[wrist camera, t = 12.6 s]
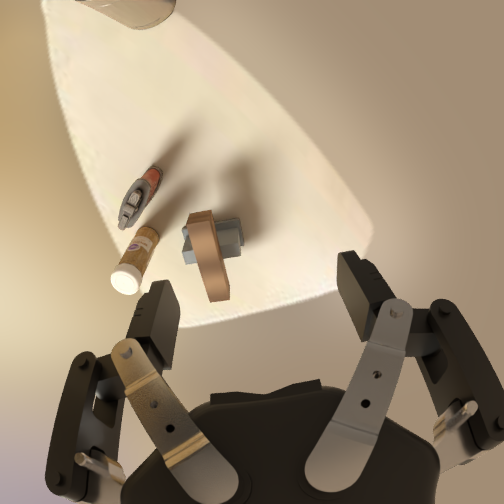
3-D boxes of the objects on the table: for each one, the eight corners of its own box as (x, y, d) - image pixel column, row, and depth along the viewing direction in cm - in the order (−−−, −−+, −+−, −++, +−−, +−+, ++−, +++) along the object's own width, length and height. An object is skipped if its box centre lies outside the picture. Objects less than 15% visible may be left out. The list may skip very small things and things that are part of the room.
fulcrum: (182, 228, 46) (176, 245, 41) (239, 217, 46) (240, 234, 41) (189, 252, 49) (185, 271, 44) (244, 243, 49) (245, 262, 43)
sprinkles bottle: (152, 222, 45) (128, 267, 34) (163, 243, 48) (144, 291, 36) (131, 231, 46) (104, 275, 34) (143, 251, 48) (120, 298, 37)
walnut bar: (189, 213, 38) (185, 224, 35) (211, 209, 38) (209, 220, 35) (211, 288, 46) (210, 302, 43) (229, 285, 46) (229, 299, 43)
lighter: (149, 162, 40) (127, 181, 31) (167, 172, 41) (149, 193, 32) (130, 202, 43) (107, 229, 34) (146, 211, 44) (127, 240, 36)
